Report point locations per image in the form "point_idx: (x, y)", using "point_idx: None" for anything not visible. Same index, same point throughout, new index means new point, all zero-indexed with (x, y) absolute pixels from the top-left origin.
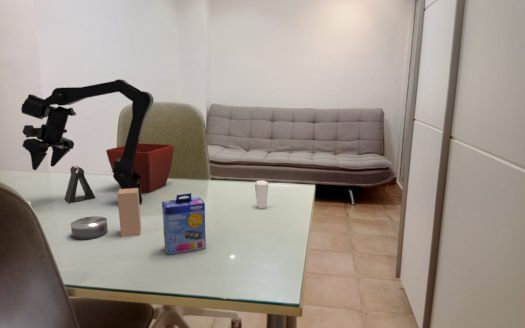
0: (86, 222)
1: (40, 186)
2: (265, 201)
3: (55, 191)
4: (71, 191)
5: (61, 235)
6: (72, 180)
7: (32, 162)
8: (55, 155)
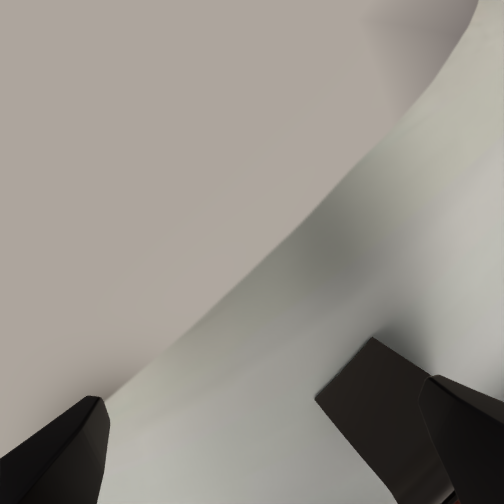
0: None
1: (499, 100)
2: None
3: (477, 195)
4: (346, 425)
5: None
6: (406, 432)
7: (30, 449)
8: (500, 477)
